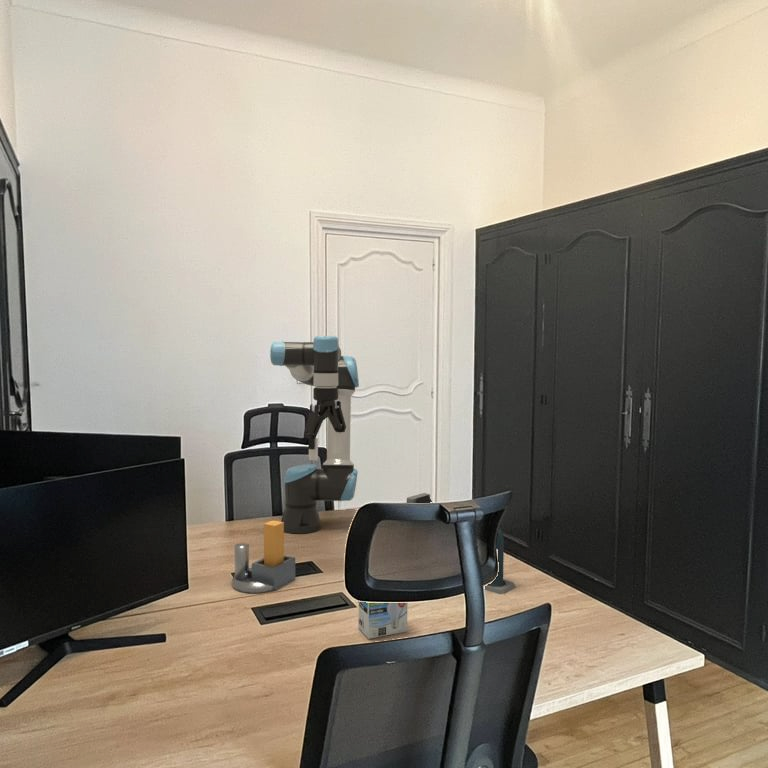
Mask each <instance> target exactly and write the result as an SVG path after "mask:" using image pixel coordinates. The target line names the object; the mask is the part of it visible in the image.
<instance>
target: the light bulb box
mask: <svg viewBox="0 0 768 768" xmlns="http://www.w3.org/2000/svg"><path fill="white" fill-rule="evenodd" d="M408 604H409V603H366V602H359V601H358V622H357V623H358V626H357V627H358V629H359V630H360V631H361V633H363V635H364V636H365V637H366V638H367V639H368V640H370V639H371V640H372V639H375V638H376V639H377V638H380V637H381V638H382V637H386V636H390V635H396V634H401V633H402V634H403V633H407V632H408Z"/></svg>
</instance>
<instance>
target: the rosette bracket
mask: <svg viewBox="0 0 768 768" xmlns="http://www.w3.org/2000/svg"><path fill="white" fill-rule="evenodd" d="M295 580H296V557H294V556H290V555H285V554H284V562H282V563H280V564H278V565H276V566H274V567H273V566H268V565H264V557H262V558H260V559H258V560H256V561H254V562H252V563H251V567H250V545H249V544H248V543H246V542H240V543H236V544H235V545H234V576H233V577H232V579H231V584H232V585H231V587H232V589H233V590H235V591H236V592H239V593H243V594H252V595H253V594H265V593H270V592H275V591H277V590H279V589H281V588H283V587H284V586H286V585H288V584H290V583H291V582H294V581H295Z"/></svg>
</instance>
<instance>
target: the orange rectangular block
mask: <svg viewBox="0 0 768 768" xmlns="http://www.w3.org/2000/svg"><path fill="white" fill-rule="evenodd" d="M284 536H285V532H284V522H281V521H278V520H270V521H267V522H266V523H264V524H263V558H264V565H268V566H273V567H274V566H276V565H278V564H280V563H282V562H284V555H285V550H284V549H285V547H284V546H285V544H284V543H285V540H284V539H285V537H284Z"/></svg>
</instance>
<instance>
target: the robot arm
mask: <svg viewBox="0 0 768 768" xmlns="http://www.w3.org/2000/svg"><path fill="white" fill-rule="evenodd" d="M269 352H270V353H269V355H270V362H271V364H272V365H273V366H279V367H285V368H287V369H288V371H289V372H290V375H291V377H292V378H294V379H295V380H296V381H297V382H299V383H302V384H304V385H307V386H311V387H314V388H313V394H312V395H313V397H312V398H313V400H315V401H316V404H314V403H313V404H310V405H309V412H308V416H307V421H306V424H305V426H304V427H305V428H304V432H303V437H304V438H305V439H308V460H309V461H318V460H319V444H318V443H319V438H318V437H317V436H318V433H319V431H320V429H321V426H322V424H323V422H324V421H325V420H326V419H327V428H326V431H327V434H326V435H327V437H326V438H327V439H326V441H327V442H326V445H327V446H326V460H325V461H324V462H323V463H322V468H318V467H317V465H316V464H314V463H313V464H311V463H310V464H309V463H307V464H299V465H296V466H295V465H294V466H292V467H289V468H288V469H287V470H285V473H284V475H285V476H284V480H283V482H284V504H285V505H284V510H283V513H282V516H281V520H280V522H284V533H288V534H310V533H315V532H317V531H319V530H321V529H322V520H321V517H320V513H319V510H318V507H317V502H319V501H320V502H333V501H334V502H345V501H351V500H353V498H355V492H356V487H357V481H358V474H359V473H358V472H359V471H358V469H357V468H355V464H354V463H353V462H352V461H351V413H352V412H351V408H352V407H351V403H352V396H353V394H355V392H356V388H359V387H360V382H359V374H358V373H359V372H358V365H357V360H356V358H355V357H353V356H347V355H342V349H341V347H340V345H339V338H338V337H337V335H336V336H335V335H327V336H326V335H320V336H319V335H316V336H314V338H313V341H309V342H308V341H304V342H302V341H301V342H300V341H298V342H297V341H284V340H283V341H282V340H281V341H276V342H273V343H271V345H270V351H269Z"/></svg>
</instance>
